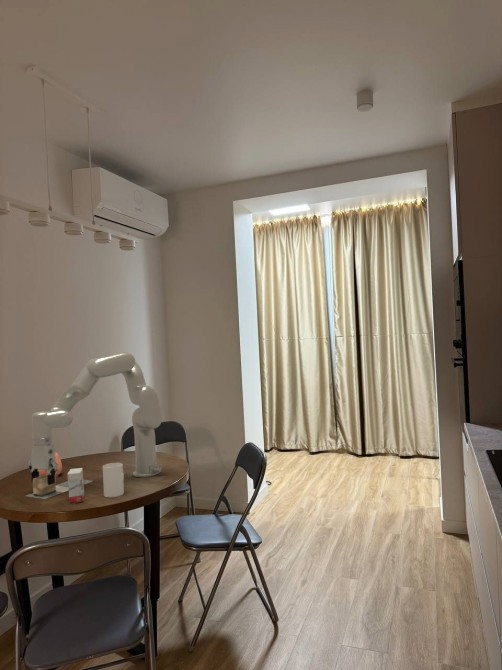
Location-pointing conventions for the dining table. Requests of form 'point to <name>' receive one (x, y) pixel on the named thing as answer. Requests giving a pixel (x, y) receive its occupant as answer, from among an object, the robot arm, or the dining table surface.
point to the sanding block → (43, 486)
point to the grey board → (58, 489)
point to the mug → (113, 479)
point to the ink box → (76, 485)
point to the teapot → (44, 472)
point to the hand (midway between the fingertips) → (43, 482)
